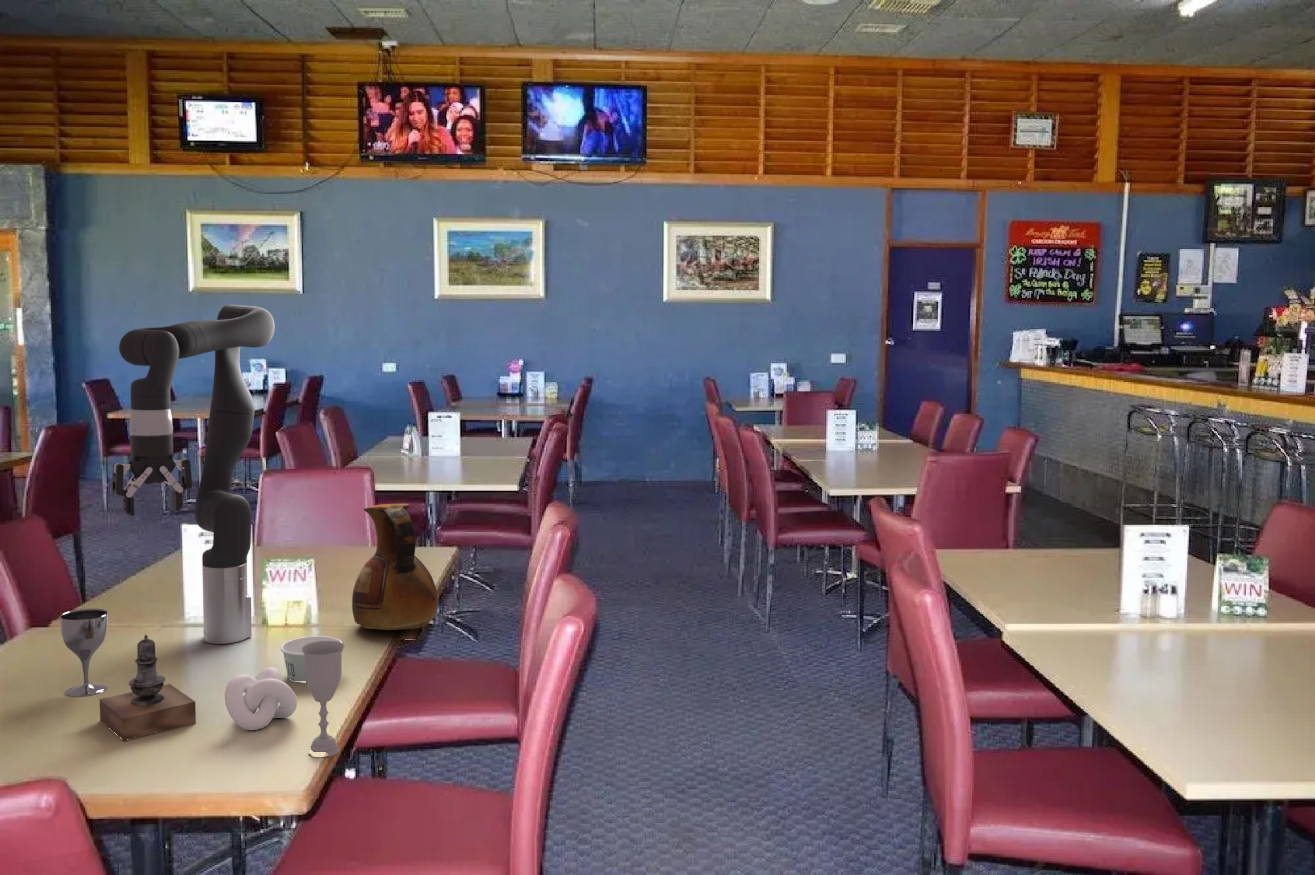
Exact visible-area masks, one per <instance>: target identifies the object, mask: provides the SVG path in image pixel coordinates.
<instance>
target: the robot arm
mask: <svg viewBox="0 0 1315 875" xmlns="http://www.w3.org/2000/svg"><path fill="white" fill-rule="evenodd" d="M275 328H276V327H275V321H274V318H273V315H272V314H271V312H269V310H267V309H266V308H262V307H259V306H254V305H240V304H226V305H224V306H223V307H221V309H220V310H219V312H218V315H217V318H216V319H212V320H211V319H210V320H208V319H207V320H193V321H192V320H190V321H185V322H180V323H176V324H171V325H168V326H159V327H158V326H157V327H144V328H135V329H132V330H130V331H128V332H126V333H125V334H124V335H123V336H122V337H121V339H120V341H119V345H118V349H119V350H118V351H119V354H120V356H121V358H122V359H123V360H124V361H125V362H126V363H128V364H131V365H132V366H133V365H134V366H137V367H138V366H139V367H149V369H148V372H147V375H146V376H145V377H141V378H137V379H134V380H133V381H132V382H131V383H130V416H129V437H130V438H129V439H130V445H129V446H130V461H129V463H119V462H116V463H113V465H112V472H111V473H112V476H111V478H112V479H111V480H112V481H111V493H112V494H114V495H117V496H121V497H122V503H123V504H122V505H123V512H124V514H126V515H127V516H128V517H134V516H135V498H134V497H133V495H134V494H136V492H137V490H138V489H140V488H141V486H142V485H143V484H145V485H151V484H154V483H157V484H163V483H164V482H165V484H167V485H168V487H170V489H171V490H172V492H171V510H172V511H173V512H180V511H181V510H180V509H182V508H183V505H184V504H183V493H184V492H185V491H186V490H188V489H189V490H190V489H192V487H193V479H192V465H191V460H189V459H187V458H180V459H178V460H177V459H175V458H174V440H173V439H174V434H173V433H174V426H173V417H172V409H171V408H172V406H171V404H172V403H171V401H172V400H171V398H172V397H171V387H172V385H173V384H172V383H173V381H174V376H175V373H176V372H175V371H176V368H177V364H178V361H179V359H180V360H181V359H187V358H192V357H195V356H199V355H202V354H206V353H210V352H214V372H213V373H214V374H213V385H212V394H211V395H212V396H211V402H210V407H209V416H208V425H207V435H206V445H205V452H204V460H203V468H202V473H201V476H200V482H199V485H198V489H197V490H198V491H197V495H196V499H195V504H194V510H193V511H194V514H193V515H194V520H195V523H196V524H197V526H198V527H199V528H200V529H202V530H204V531H206V532H210V533H213V537H212V538H213V539H212V542H213V543H212V546H211V548H209V549H206V550H204V551H203V553H202V558H201V560H202V562H201V563H202V564H201V566H202V606H203V607H202V609H203V610H202V612H203V613H202V614H203V631H202V632H203V642H205V643H208V644H213V645H225V644H232V643H233V644H234V643H238V642H241V641H243V640H246V639H249V638H252V637H253V634H252V629H253V628H252V596H251V595H249V594H248V554H249V552H250V549H251V542H252V523H253V522H252V510H251V506H250V503H249V502H248V500H247V499H246V498H245V497H244V496H242V495H239V494H236V493H232V482H233V475H234V471H235V468H236V465H237V464H238V462H239V459H240V458H241V456H242V454H243V453H244V451H245V450H246V448H247V446H248V445H249V443H250V440H251V438H252V434H253V428H254V419H255V412H256V411H255V409H256V407H255V401H254V399H253V397H252V394H251V392H250V390H249V388H248V385H247V384H246V382H245V379H244V377H243V374H242V371H241V365H240V364H241V362H240V361H241V360H240V358H241V357H240V355H241V354H240V353H241V352H240V351H241V348H243V347H244V348H260V347H264V346H266V345H267V344H269V343H270V342H271V340H272V339H273V338H274V337H273V336H274V335H275ZM176 467H177V470H179V471H180V482H181V483H179V482H178V480H177V479H176V478H175V477H174V476H173V474H172V472H173V471H174V469H175V468H176ZM128 470H129V471H130V472H131V473H132V477H130V479H129V481H128V482H127V484H126V486H125V487H124V476H125V475H126V474H127V472H128Z"/></svg>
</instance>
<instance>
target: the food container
mask: <svg viewBox="0 0 1315 875" xmlns="http://www.w3.org/2000/svg"><path fill="white" fill-rule="evenodd" d="M319 641H336V642H340V643H343V641H342V640H341V639H339V638H337V637H334V636H333V637H332V636H327V635H326V636H324V635H321V636H320V635H318V636H317V635H315V636H305V637H298V638H293V639H291V640H287V641H285V642H284V643H282V645H281V646H280V647H279V648H280V651H281V652H282V653H283V658H284V663H285V668H286V673H287V679H288V678H289V679H291V680H293V681H306V680H305V655H304V654H303V652H302V650H301V649H302V647H303V646H305V645H307V644H310V643H314V642H319ZM289 679H288V680H289Z"/></svg>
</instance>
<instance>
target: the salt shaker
mask: <svg viewBox="0 0 1315 875" xmlns="http://www.w3.org/2000/svg"><path fill="white" fill-rule="evenodd" d="M148 637H149V635H147V634H145V635H144V636H143V639H141V640H140V641H139V642H137V645H136V646H137V648H136V649H137V651H136V652H137V659H135V661H134V663H135V664H137V667H136V669H137V670H136V676H135V677H133V678H132V679H131V680H129V681H128V685H129V686H130V690H131V692H133V693H134V694H135V695H137V696H136V697H135V698H133V699H132V700H131V703H132V704H133V705H137V706H146V705H152V704H156V703H159V702H161V701H163V699H164V696H163V695H160V694H158V693H159V692H160V691H161V689H162V687H163V685H165V684H164V683H165V682H166V677H165V676H163V675H159V674H158V671H157V661H158V657H156V643H155V641H154V640H152V639H149V638H148Z"/></svg>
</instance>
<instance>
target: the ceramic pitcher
mask: <svg viewBox="0 0 1315 875" xmlns="http://www.w3.org/2000/svg"><path fill="white" fill-rule="evenodd" d="M410 506H411V505H410V503H389V504H388V503H387V504H385V503H384V504H383V503H382V504H376V505H371V506H369V507H365V508H363V511H364V512H366V513H367V514H368V516H369V517H370V518H371V519H372V522H373V523H374V527H375V530H376V538H377V541H376V543H377V545H376V550H375V553H374V554H373V555H372V557H370V558H369V560H368V561H367V562H365V564H364V565H363V566H362V568H361V570H360V571H359V573H358V576H357V578H356V580H355V583H354V587H353V590H352V596H351V598H352V599H351V609H352V615H353V620H354V622H355V623H356V624H357V625H360V626H361V627H363V628H365V629H369V630H370V629H373V630H379V631H381V630H382V631H400V630H410V629H420V628H424V627H426V626H427V625H428V624H429V623H430V622H432V620H433V619H434V618H435V617H436V616H437V612H438V603H439V602H438V593H437V586H436V585H435V581H434V579H433V576H432V575H431V572H430V571H429V569H428V568H427V567H426V565H425V564H424V563H423V562H422V561H421V559H419V558H418V557H417V556H416V555H415V554H416V543H417V542H416V534H415V529H414V524H413V520H412V519H411V516H410V514H409V513H408V512H407V510H408V509H409V508H410Z"/></svg>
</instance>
